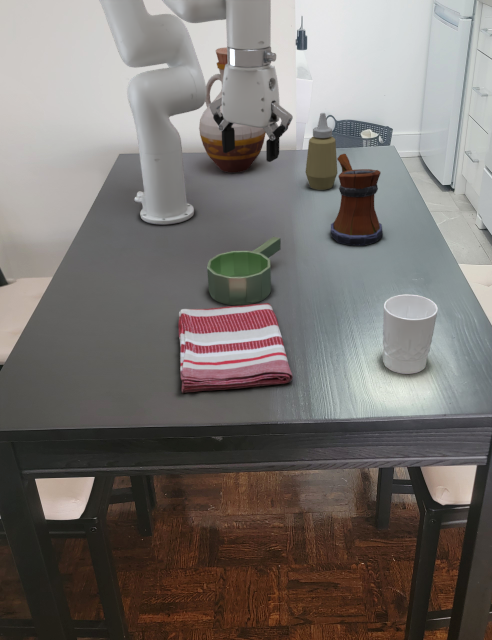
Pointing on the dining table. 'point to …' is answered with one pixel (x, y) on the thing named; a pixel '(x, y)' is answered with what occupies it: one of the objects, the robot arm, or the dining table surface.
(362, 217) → the mug
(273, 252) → the green saucepan
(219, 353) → the dish towel
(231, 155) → the jug
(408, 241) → the dining table surface
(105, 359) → the dining table surface
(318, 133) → the squeeze bottle
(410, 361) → the white cup
